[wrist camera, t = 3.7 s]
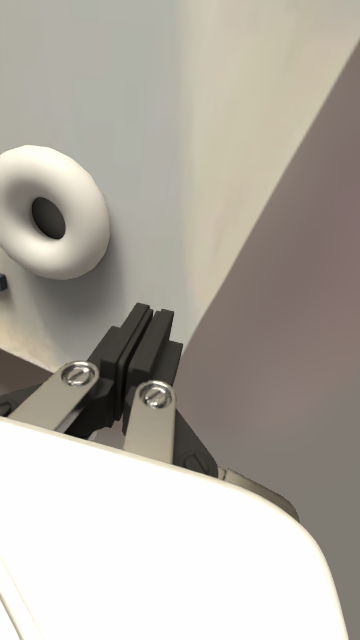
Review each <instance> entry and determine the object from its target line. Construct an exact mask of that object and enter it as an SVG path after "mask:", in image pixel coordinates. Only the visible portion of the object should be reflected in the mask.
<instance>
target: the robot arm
mask: <svg viewBox="0 0 360 640" xmlns="http://www.w3.org/2000/svg"><path fill="white" fill-rule="evenodd" d="M173 317H174V311H170V310H166V309H162V310H161V312H160V311H156V313H155V315H154V317H153V310H152V309H150V306H149V305H145V304H141V303H136V305H135V306H134V308H133V309H132V311H131V312H130V314H129V315H128V317H127V319H126V320H125V322H124V323H123V325H122V326H121V328H119V327H115V326H112V327H111V328H110V329H109V330H108V332H107V333H106V335H105V336H104V337H103V339H102V340H101V342H100V343H99V344H98V346H97V347H96V349H95V350H94V351H93V353H92V354H91V356H90V357H89V358H88V360H87V361H73V362H70V363H67V364H65V365H64V366H62V367H61V368H60V369H59V370H58V371H57V372H55V373H54V374H53V375H52V376H51V377H50V378H49V379H48V380H47V381H46V382H45V383H42V384H38V385H35V386H32V387H28V388H25V389H22V390H18V391H15V392H11V393H8V394H4V395H1V396H0V640H349V639H348V635H347V630H346V627H345V622H344V618H343V614H342V610H341V606H340V602H339V599H338V595H337V591H336V588H335V585H334V582H333V579H332V576H331V573H330V570H329V568H328V565H327V562H326V560H325V558H324V555H323V553H322V551H321V550H320V548H319V546H318V544H317V543H316V542H315V540H314V539H313V538H312V537H311V535H310V534H309V533H308V532H307V531H306V530H305V529H304V528H303V527H302V526H301V525H300V522H299V516H298V515H297V512H296V510H295V508H294V507H293V506H292V504H291V503H290V502H289V501H288V500H287V499H285V498H284V497H282V496H281V495H279V494H277V493H275V492H273V491H271V490H269V489H267V488H266V487H264V486H262V485H260V484H258V483H256V482H254V481H252V480H250V479H248V478H246V477H244V476H243V475H241V474H239V473H237V472H235V471H233V470H231V469H229V468H227V470H224V469H222V468H221V467H219V466H217V464H216V462H215V460H214V458H213V457H212V456H211V454H210V453H209V452H208V450H207V449H206V448H205V446H204V445H203V444H202V442H201V441H200V440H199V438H198V437H197V436H196V435H195V433H194V432H193V430H192V429H191V428H190V426H189V425H188V424H187V422H186V421H185V420H184V418H183V417H182V416H181V415H180V413H179V412H178V410H177V409H176V393H175V391H174V389H173V388H172V387H173V383H174V379H175V376H176V373H177V369H178V365H179V361H180V357H181V352H182V348H183V344H182V343H178V342H174V341H170V340H169V337H170V332H171V327H172V322H173ZM152 318H153V319H152ZM122 414H123V427H122V432H123V434H124V435H125V442H124V446H123V450H119V449H116V448H112V447H108V446H105V445H101V444H98V443H94V442H93V440H94V439H95V437H96V435H97V433H98V430H99V429H102V428H104V427H109V428H111V427H112V425H113V423H114V421H115V420H116V421H119V420H120V419H121V416H122Z"/></svg>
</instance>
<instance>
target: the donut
mask: <svg viewBox="0 0 360 640" xmlns="http://www.w3.org/2000/svg"><path fill="white" fill-rule="evenodd" d="M38 197H44V198H46V199H49V200H50V201H52V202H53V203H54V204H55V205H56V206H57V207H58V209H59V210H60V211H61V213H62V215H63V218H64V220H65V225H66V231H65V235H64V236H63V238H61V239H58V240H57V239H52V238H50V237H48V236H46V235H45V234H44V233H43V232H42V231H41V230H40V229H39V228H38V226H37V225H36V223H35V221H34V219H33V215H32V203H33V201H34V199H36V198H38ZM109 239H110V216H109V212H108V209H107V206H106V203H105V200H104V197H103V194H102V193H101V191H100V190H99V188H98V187H97V185H96V184H95V182H94V181H93V179H92V178H91V176H90V175H89V174H88V173H87V172H86V171H85V170H84V169H83V168H82V167H81V166H80V165H78V164H77V163H76V162H75V161H74V160H73V159H72V158H70V157H68V156H66V155H64V154H62V153H60V152H57V151H55V150H53V149H51V148H48V147H39V146H30V145H25V146H22V147H19V148H15V149H12V150H9V151H6V152H4V153H3V154H2V155H1V156H0V246H1V247H2V248H3V250H4V251H5V252H6V253H7V254H8V255H9V257H10V258H11V259H13V260H14V261H15V262H17V263H18V264H19V265H21V266H22V267H23V268H24V269H26V270H28V271H30V272H32V273H35V274H37V275H39V276H41V277H46V278H52V279H58V280H65V279H71V278H77V277H80V276H82V275H83V274H85V273H87V272H88V271H90V270H92V269H94V268H95V267H96V265H97V264H98V263H99V261H100V260H101V259H102V257H103V256H104V254H105V253H106V249H107V246H108V242H109Z"/></svg>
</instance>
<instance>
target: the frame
mask: <svg viewBox="0 0 360 640" xmlns="http://www.w3.org/2000/svg"><path fill="white" fill-rule="evenodd" d="M6 288H7V285H6V279H5V275H4V274H0V291H3V290H5V289H6Z"/></svg>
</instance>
